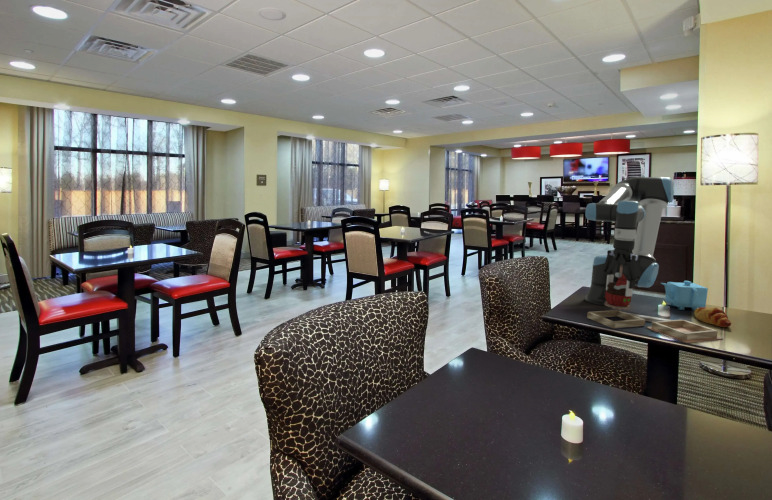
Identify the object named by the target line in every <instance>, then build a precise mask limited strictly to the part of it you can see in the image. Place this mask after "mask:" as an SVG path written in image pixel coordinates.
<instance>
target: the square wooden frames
mask: <svg viewBox="0 0 772 500" xmlns="http://www.w3.org/2000/svg"><path fill="white" fill-rule="evenodd" d="M586 314H587V315H586V318H587V319H589V320H592V321H594V322H597V323H599V324H602V325H603V326H607V327H609V328H611V329H621V328H633V327H642V326H643V327H644V326H645V325H646V322H650V323H651V326H646V327H645V329H648V330H650V331H652V332H656V333H659V334H661V335H664V336H666V337H669V338H672V339H675V340H677V341H680V342H682V343H685V344H689V343H690V344H691V343H700V342H709V341H711V342H712V341H719V340H724V338H723V337H721V336H718V332H719V330H716V329H713V328H711V327H707V326H704V325H701V324H697V323H695V322H692V321H689V320H685V319H674V320H673V319H668V318H662V317H656V316H649V315H643V314H638V313H631V312H625V311H622V310H620V309H614V310H613V309H611V310H599V311H598V310H597V311H587V313H586ZM610 317H611V318H613V317H619V318H620V319H623V320H615V321H614V320H612V319H608V318H610Z"/></svg>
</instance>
